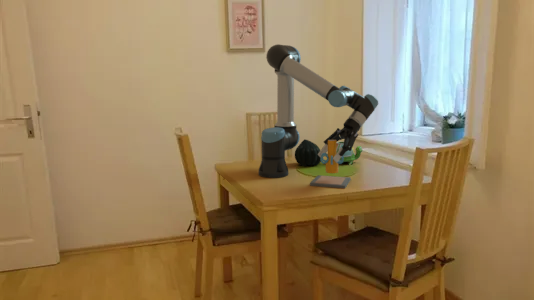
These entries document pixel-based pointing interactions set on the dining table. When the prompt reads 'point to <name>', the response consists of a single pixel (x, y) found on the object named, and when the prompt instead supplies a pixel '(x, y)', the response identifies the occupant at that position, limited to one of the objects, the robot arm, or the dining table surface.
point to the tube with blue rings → (331, 158)
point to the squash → (307, 153)
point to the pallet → (330, 181)
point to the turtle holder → (349, 153)
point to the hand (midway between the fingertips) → (327, 158)
